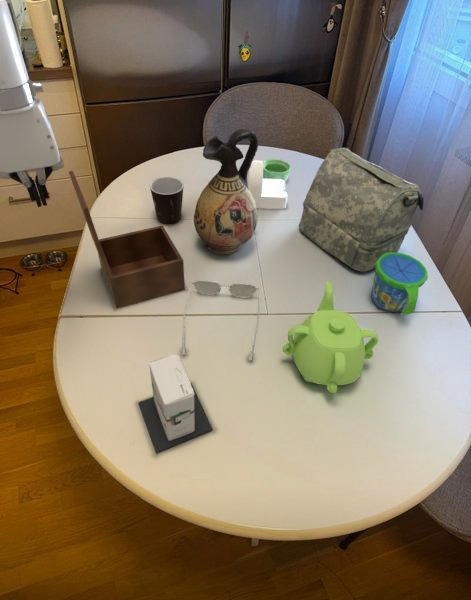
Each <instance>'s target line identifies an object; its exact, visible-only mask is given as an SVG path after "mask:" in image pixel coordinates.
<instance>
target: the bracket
mask: <svg viewBox="0 0 471 600" xmlns="http://www.w3.org/2000/svg"><path fill="white" fill-rule="evenodd" d="M263 162H264V161H263V160H255V159H253V161H252V163H251V167H250V168H249V170H248V174H247V182H248V189H249V190H250V192H251V194H252V196H253V198H254V201H255V204H256V209H268V210H269V209H272V210H284V209H286V207H287V201H288V191H285V190H286V182H285V181H284V180H282V179H263Z"/></svg>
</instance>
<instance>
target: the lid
mask: <svg viewBox="0 0 471 600" xmlns="http://www.w3.org/2000/svg"><path fill="white" fill-rule="evenodd" d="M68 174H69V177H70V180H71V183H72V186H73V188H74V191H75V194H76V196H77V199H78V203H79V205H80V208H81V210H82V213H83V216H84V219H85V222H86V225H87V228H88V231H89V233H90V236H91V239H92V241H93V244H94V246H95V249H96V252H97V255H98V254H99V256H98V258H99V257H100V260H101V262H102V265H103V267H104V270H105V273H106V275H107V278H108V277H111V274H110V271H109V268H108V265H107V262H106V259H105V256H104V253H103V251H102V248H101V245H100V242H99V239H100V238H99V236H98V233H97V230H96V228H95V225H94V222H93V221H94V220H93V218H92V216H91V213H90V209H89V207H88V205H87V202H86V200H85V197H84V195H83V192H82V190H81V188H80V185H79V183H78V180H77V177H76V174H75V173H74V171H73V170H70V171H68ZM100 260H99V261H100Z"/></svg>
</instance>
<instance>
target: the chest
mask: <svg viewBox="0 0 471 600" xmlns="http://www.w3.org/2000/svg"><path fill="white" fill-rule="evenodd" d="M98 239H99V242H100V245H101V248H102V251H103V253H104V256H105V259H106V262H107V265H108V268H109V271H110V274H111V277H108V278H107V275H106V273H105V270H104V267H103V265H102V262H101V260H100V257H99V254H98V253H97V255H98V260H99V265H100V267H101V272H102V274H103V275H102V276H103V277H104V280H105V283H106V286H107V288H108V290H109V293H110V295H111V298H112V301H113V303H114V306H115V309H116V310H118V309H122V308H124V307H129V306H131V305H135V304H139V303H142V302H145V301H149V300H153V299H158V298H160V297H165V296H167V295H171V294H176V293H178V292H181V291H185V287H186V286H185V268H184V259H183V257H182V255H181V253H180V252H179V250H178V249H177V247H176V245H175V244H174V242H173V240H172V238H171V237H170V235H169V234H168V232H167V230H166V228H165V227H164V224H162V225H157V226H153V227H147V228H144V229H140V230H135V231H130V232H126V233H121V234H117V235H112V236H108V237H103V238H98Z"/></svg>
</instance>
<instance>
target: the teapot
mask: <svg viewBox="0 0 471 600" xmlns="http://www.w3.org/2000/svg"><path fill="white" fill-rule="evenodd" d="M323 294H324V295H323V297H322V300H321V302H320V304H319V306H318V308H317V311H315V312H314V313H312V314H311V315H309V316H308V317H307V318H305V320H303V322H302V323H301V324H298V325H294V326H291V327H290V328H289V330H288V331H287V341H288V342H287V343H284V344H283V345H282V352H283V354H285V355H287V356H292V357H293V360H294V363H295V366H296V368H297V370H298V371H299V373H300V374H301V375H302V378H303V380H304V381H306V382H307V383H313V384H318V385H323V386H326V389H327V391H328V392H329V393H331V394H336V393H338V386H345V385H349V384H353V383H354V382H356V381H357V380H358V379H359V378H360V377H361V375H362V372H363V369H364V366H365V365H364V364H365V361H367V360H371V359H372V358H374V354H375V352H374V348H375V347H376V345H377V344H378V342H379V336H378V333H377V332H376V331H375V330H374V329H369V328H362V329H361V328H360V326H359V324H358V321H357V319H356V318H355V317H354V316H353V315H351V314H350V313H348V312H345V311H341V310H335V307H334V287H333V284H332V282H331V281H329V280H328V281H326V282H325V286H324V293H323ZM293 336H294V337H293ZM364 338H370V339H369V340H368V342H367V343H366V344H365V341H364V340H365V339H364Z"/></svg>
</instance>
